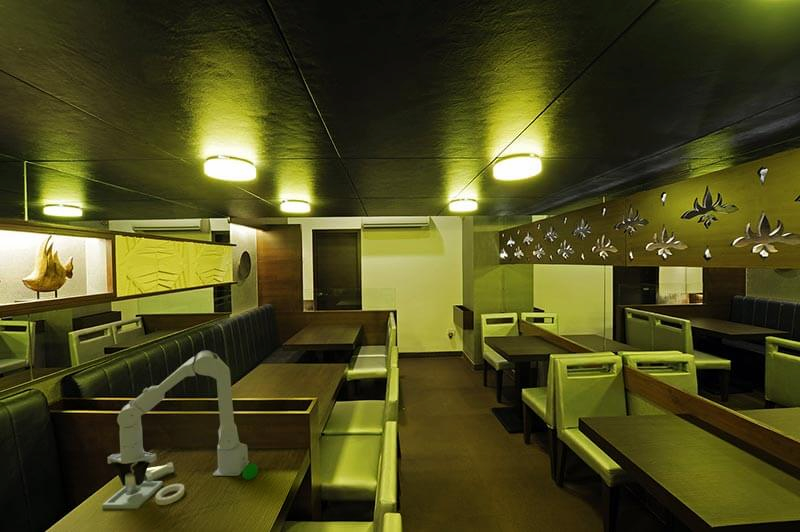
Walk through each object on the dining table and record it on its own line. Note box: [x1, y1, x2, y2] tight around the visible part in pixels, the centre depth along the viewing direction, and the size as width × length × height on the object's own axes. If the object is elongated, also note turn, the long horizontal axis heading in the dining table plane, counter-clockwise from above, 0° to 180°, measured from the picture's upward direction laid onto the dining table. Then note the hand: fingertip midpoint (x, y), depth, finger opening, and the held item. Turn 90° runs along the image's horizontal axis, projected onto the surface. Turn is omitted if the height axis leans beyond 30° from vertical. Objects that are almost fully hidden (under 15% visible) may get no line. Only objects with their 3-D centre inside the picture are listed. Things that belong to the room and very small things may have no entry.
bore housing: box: [155, 483, 185, 506], centre depth 111 cm, size 8×8×2 cm
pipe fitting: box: [144, 461, 175, 482], centre depth 122 cm, size 8×4×7 cm
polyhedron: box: [241, 462, 259, 480], centre depth 120 cm, size 5×5×5 cm
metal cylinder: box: [125, 468, 141, 495], centre depth 111 cm, size 4×4×6 cm
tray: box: [101, 480, 164, 510], centre depth 112 cm, size 11×11×1 cm
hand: (133, 483), depth 112 cm, fingers closed on metal cylinder, 4 cm apart
